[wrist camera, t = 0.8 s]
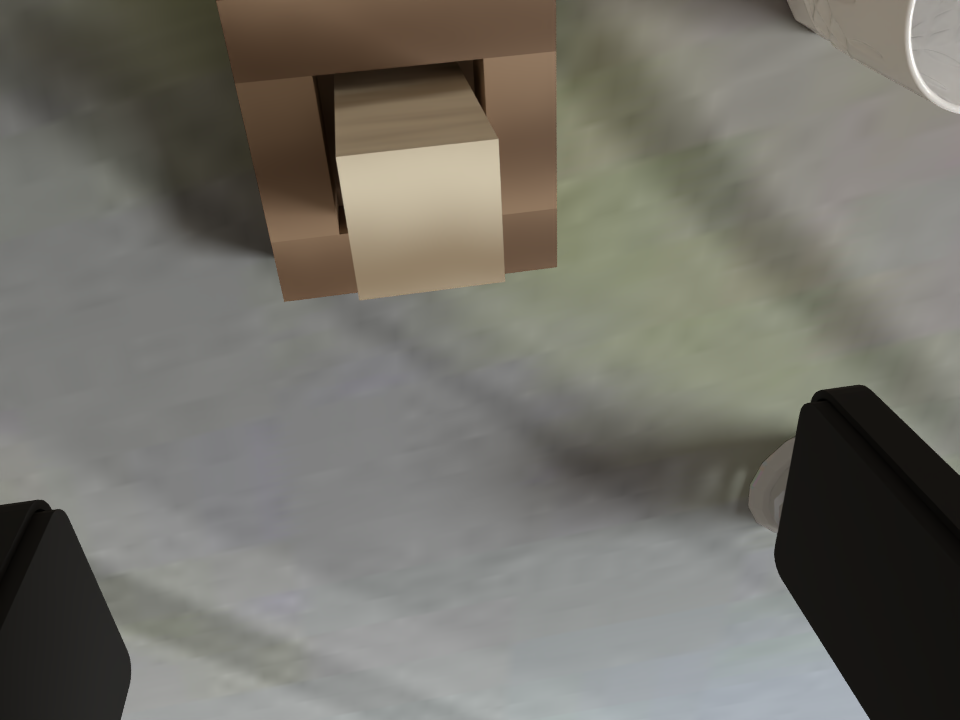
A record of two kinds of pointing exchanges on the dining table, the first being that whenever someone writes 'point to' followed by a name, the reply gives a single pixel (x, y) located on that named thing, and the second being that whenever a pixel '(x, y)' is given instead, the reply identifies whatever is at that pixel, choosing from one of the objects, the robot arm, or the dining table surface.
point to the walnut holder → (378, 45)
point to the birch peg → (418, 180)
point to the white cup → (895, 40)
